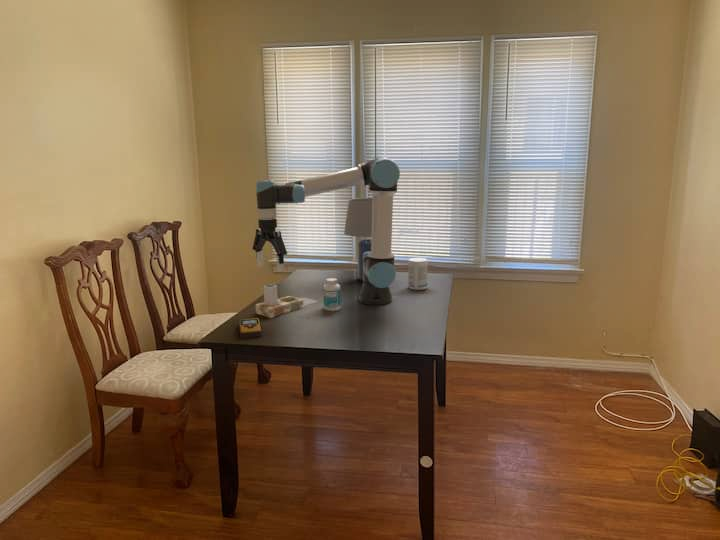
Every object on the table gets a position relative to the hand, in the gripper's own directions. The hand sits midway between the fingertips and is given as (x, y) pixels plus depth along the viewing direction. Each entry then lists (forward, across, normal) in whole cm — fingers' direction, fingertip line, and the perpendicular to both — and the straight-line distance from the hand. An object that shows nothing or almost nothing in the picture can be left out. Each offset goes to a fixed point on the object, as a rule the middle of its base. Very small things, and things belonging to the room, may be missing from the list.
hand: (270, 269), depth 217 cm
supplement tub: (+21, -21, -75) cm, 81 cm away
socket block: (+20, 0, -4) cm, 20 cm away
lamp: (+20, +9, -71) cm, 75 cm away
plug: (+19, 0, 0) cm, 19 cm away
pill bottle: (+20, -15, -21) cm, 33 cm away
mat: (+20, +2, -19) cm, 27 cm away
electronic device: (+20, -12, +20) cm, 30 cm away
